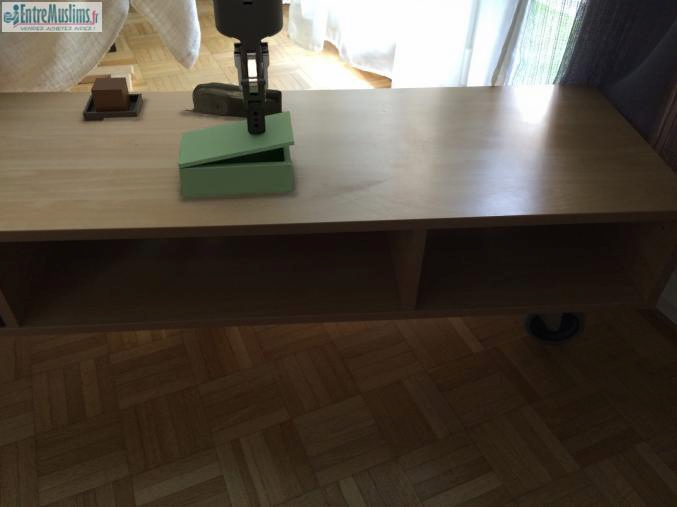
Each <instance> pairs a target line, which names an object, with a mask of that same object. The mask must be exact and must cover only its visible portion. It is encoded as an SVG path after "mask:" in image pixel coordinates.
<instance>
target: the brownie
mask: <svg viewBox="0 0 677 507" xmlns="http://www.w3.org/2000/svg"><path fill="white" fill-rule="evenodd" d="M90 93H91V95H92V97H93V101H94V105H95V109H96V112H107V111H129V108H130V105H131V102H130V97H129V94H130V93H129V87H128V82H127V78H126V77H125V76H123V77H121V76H120V77H96V78H95V79H94V82H93V84H92V87H91V89H90Z"/></svg>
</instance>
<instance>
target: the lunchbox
mask: <svg viewBox="0 0 677 507" xmlns="http://www.w3.org/2000/svg"><path fill="white" fill-rule="evenodd" d="M291 156H292V155H291V149H290V146H287V147H282V148H277V149H272V150H267V151H262V152H257V153H252V154H247V155H242V156H237V157H232V158H227V159H223V160H218V161H213V162H208V163H203V164H198V165H193V166H188V167H183V168H179V167H178V173H179V178H180V179H179V180H180V184H181V190H182V197H183V198H192V197H211V196H212V197H213V196H231V195H232V196H233V195H234V196H235V195H252V194H253V195H255V194H275V193H292V192H293V165H292V164H293V163H292V158H291Z"/></svg>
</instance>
